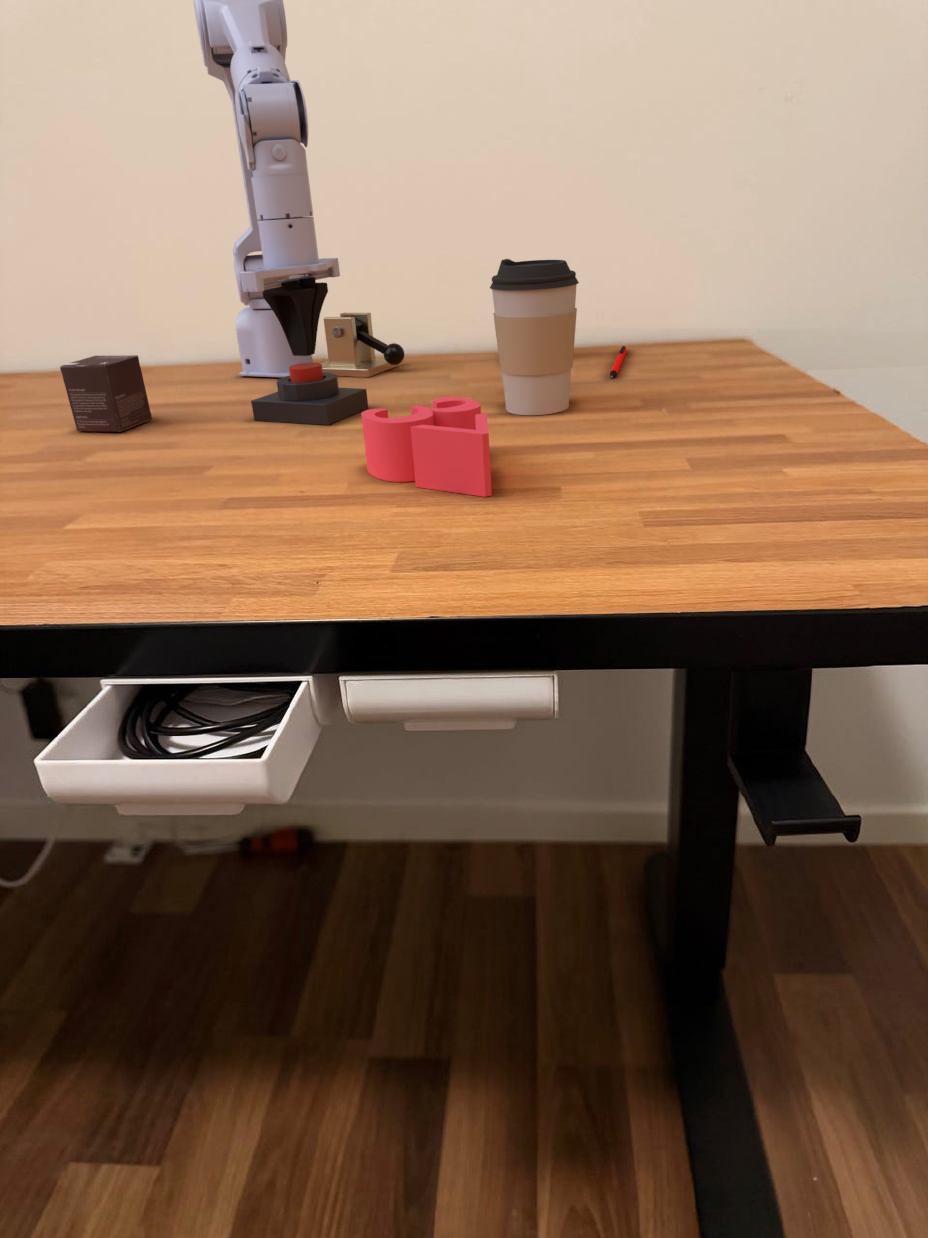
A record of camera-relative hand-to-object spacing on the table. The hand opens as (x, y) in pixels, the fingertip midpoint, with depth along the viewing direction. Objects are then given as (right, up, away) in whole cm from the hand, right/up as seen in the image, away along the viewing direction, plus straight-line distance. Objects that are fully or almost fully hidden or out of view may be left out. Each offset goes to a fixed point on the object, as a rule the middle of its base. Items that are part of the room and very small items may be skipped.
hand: (303, 354), depth 98 cm
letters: (+16, -17, -22) cm, 32 cm away
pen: (+38, +4, +19) cm, 42 cm away
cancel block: (0, -6, +3) cm, 6 cm away
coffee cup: (+25, -6, -1) cm, 26 cm away
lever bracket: (+2, +6, +26) cm, 27 cm away
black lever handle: (+5, +7, +24) cm, 25 cm away
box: (-22, -7, +4) cm, 23 cm away
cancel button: (0, -3, +1) cm, 3 cm away
